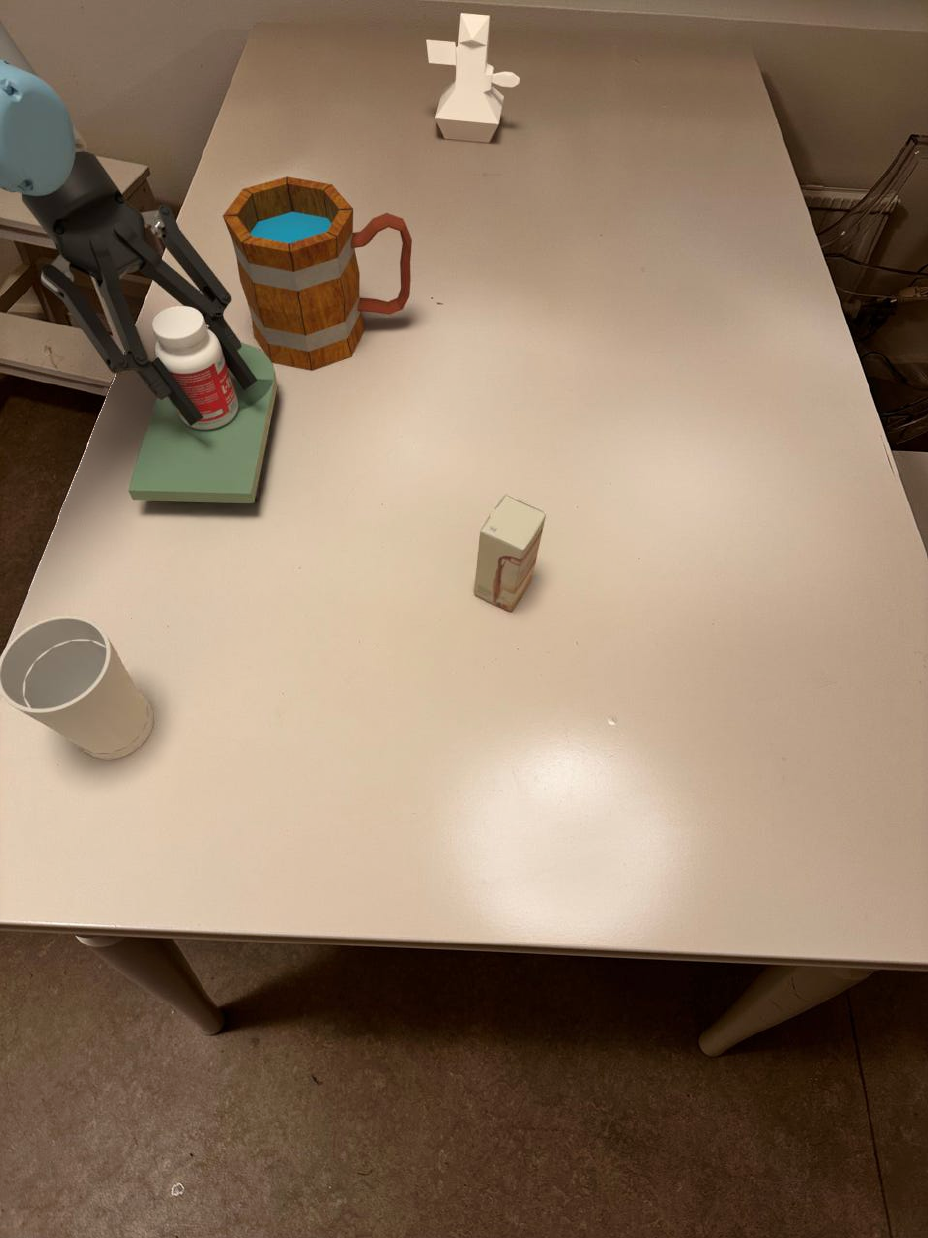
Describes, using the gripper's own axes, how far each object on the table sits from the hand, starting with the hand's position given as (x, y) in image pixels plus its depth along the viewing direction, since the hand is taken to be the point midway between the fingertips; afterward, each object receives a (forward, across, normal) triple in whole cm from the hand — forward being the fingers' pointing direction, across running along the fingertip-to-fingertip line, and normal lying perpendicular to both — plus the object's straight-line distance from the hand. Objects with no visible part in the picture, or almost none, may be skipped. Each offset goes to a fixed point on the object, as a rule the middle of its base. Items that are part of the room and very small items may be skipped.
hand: (224, 402), depth 74 cm
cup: (+17, +28, +6) cm, 33 cm away
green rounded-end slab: (+3, 0, -8) cm, 8 cm away
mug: (0, -21, -10) cm, 23 cm away
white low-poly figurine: (-12, -68, -23) cm, 73 cm away
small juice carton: (+28, -6, +17) cm, 33 cm away
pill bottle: (0, 0, -5) cm, 5 cm away
